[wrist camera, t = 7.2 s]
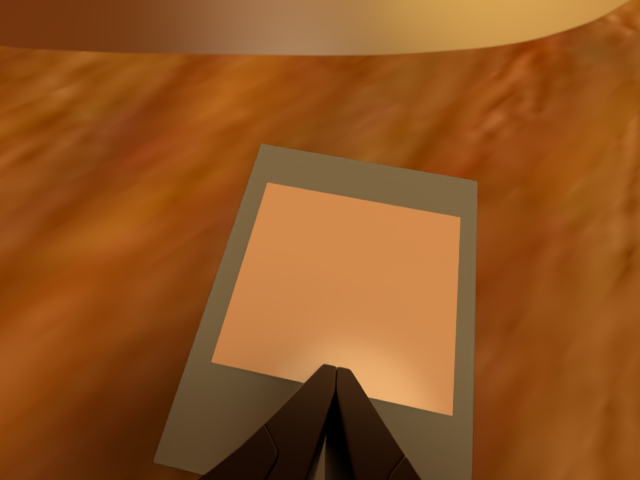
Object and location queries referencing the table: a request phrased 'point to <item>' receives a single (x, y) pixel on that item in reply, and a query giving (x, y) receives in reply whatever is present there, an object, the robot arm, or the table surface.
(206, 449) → the mat
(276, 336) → the tile
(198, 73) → the table surface
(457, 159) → the table surface
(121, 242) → the table surface
